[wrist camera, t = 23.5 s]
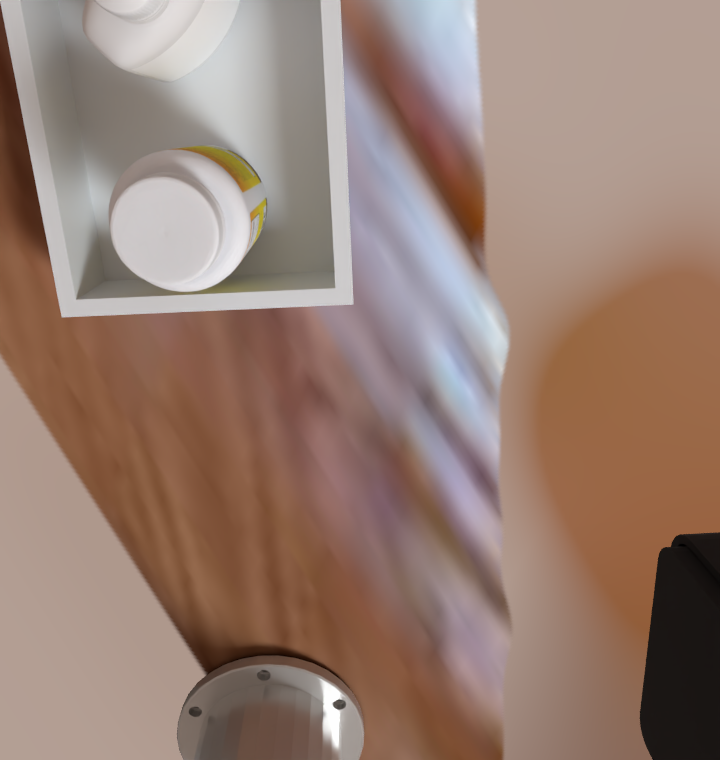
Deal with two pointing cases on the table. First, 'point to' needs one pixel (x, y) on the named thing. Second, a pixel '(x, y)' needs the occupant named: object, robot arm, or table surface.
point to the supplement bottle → (187, 216)
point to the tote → (186, 129)
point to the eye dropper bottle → (158, 33)
